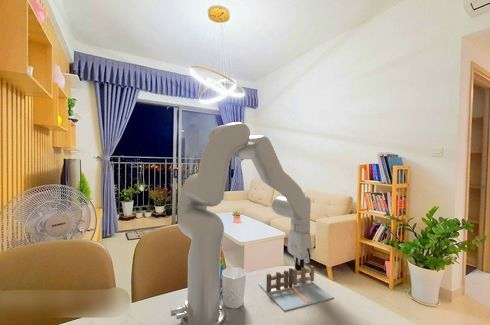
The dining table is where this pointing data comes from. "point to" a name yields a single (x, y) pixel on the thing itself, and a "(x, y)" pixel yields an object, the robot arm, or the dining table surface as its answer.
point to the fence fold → (303, 275)
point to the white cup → (233, 287)
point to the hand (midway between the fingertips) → (299, 273)
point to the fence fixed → (279, 280)
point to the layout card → (297, 294)
